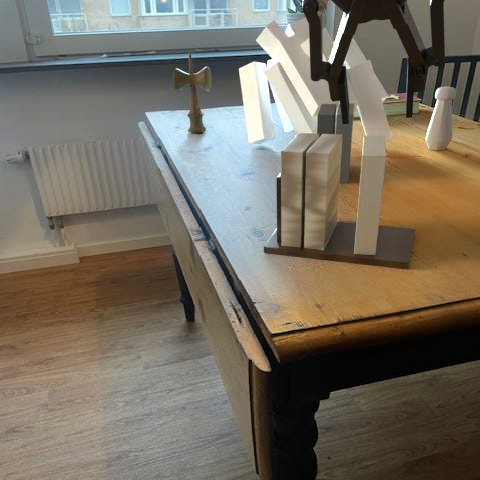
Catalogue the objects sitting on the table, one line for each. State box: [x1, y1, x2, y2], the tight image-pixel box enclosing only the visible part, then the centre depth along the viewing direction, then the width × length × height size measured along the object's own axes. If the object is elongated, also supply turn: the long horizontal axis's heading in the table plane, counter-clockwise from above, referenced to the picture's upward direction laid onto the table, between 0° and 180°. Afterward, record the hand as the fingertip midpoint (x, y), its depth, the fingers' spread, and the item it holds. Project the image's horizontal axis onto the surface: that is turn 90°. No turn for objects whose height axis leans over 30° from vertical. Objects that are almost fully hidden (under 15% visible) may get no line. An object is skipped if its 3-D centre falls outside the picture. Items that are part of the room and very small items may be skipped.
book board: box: [263, 132, 416, 270], centre depth 73 cm, size 21×12×15 cm, turn 70°
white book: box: [354, 135, 387, 255], centre depth 72 cm, size 3×10×14 cm, turn 168°
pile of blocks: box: [238, 17, 393, 145], centre depth 123 cm, size 35×30×35 cm
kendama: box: [172, 52, 212, 134], centre depth 136 cm, size 6×10×20 cm, turn 80°
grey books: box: [316, 104, 354, 185], centre depth 101 cm, size 6×10×13 cm, turn 168°
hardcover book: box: [353, 92, 423, 120], centre depth 149 cm, size 12×21×4 cm, turn 95°
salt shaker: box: [425, 86, 457, 152], centre depth 113 cm, size 6×6×13 cm
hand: (377, 112), depth 62 cm, fingers open, 7 cm apart
